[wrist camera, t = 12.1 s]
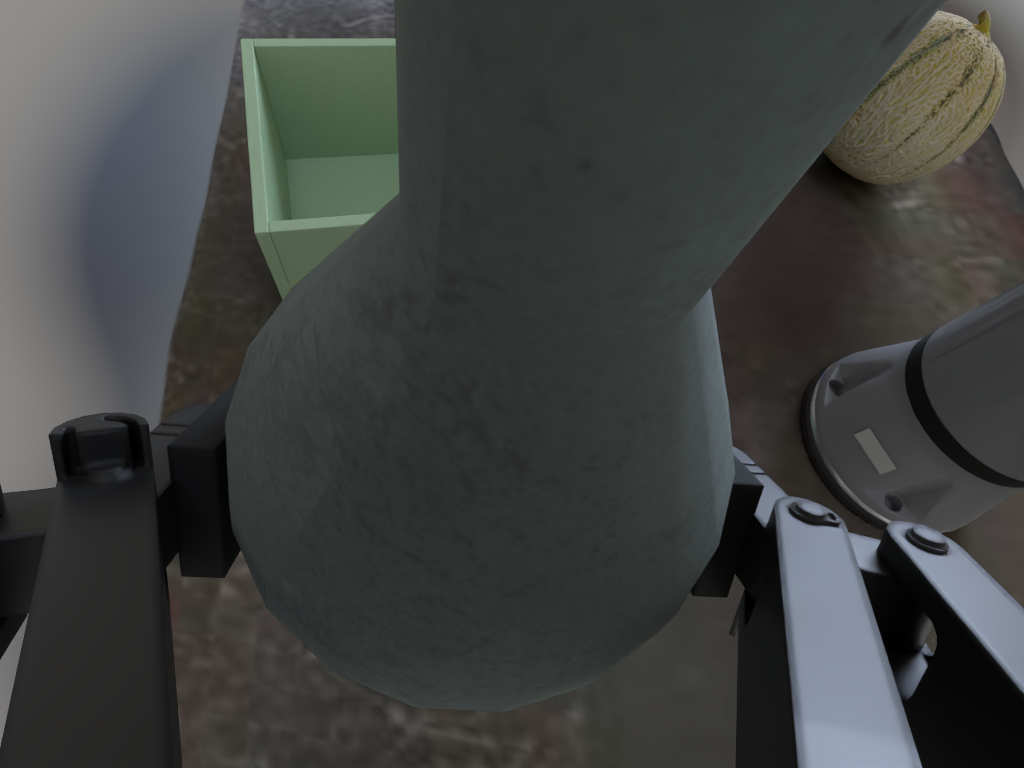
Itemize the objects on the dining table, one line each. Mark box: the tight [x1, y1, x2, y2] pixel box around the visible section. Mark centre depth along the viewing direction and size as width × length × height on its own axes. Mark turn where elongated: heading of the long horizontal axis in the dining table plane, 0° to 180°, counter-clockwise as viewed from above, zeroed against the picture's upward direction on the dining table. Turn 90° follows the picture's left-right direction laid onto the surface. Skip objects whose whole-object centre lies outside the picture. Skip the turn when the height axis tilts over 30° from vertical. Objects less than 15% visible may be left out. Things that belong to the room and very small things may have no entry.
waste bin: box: [241, 38, 399, 300], centre depth 41 cm, size 17×17×11 cm
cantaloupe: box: [823, 10, 1006, 185], centre depth 52 cm, size 15×15×15 cm
